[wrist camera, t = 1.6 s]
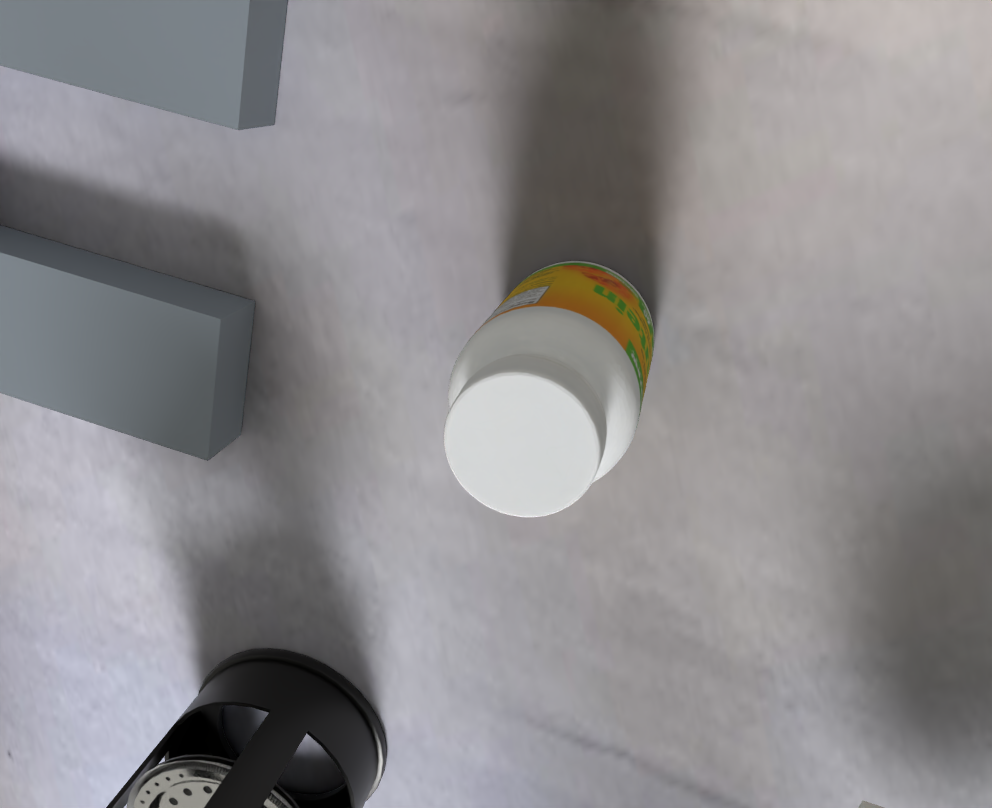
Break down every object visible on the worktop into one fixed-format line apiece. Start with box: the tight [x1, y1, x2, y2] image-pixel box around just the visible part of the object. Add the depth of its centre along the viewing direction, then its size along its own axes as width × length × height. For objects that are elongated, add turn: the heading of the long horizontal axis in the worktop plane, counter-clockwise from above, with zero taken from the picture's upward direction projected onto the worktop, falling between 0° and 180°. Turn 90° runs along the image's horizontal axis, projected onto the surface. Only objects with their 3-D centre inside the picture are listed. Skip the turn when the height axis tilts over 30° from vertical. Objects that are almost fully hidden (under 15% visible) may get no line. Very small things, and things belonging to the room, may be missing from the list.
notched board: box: [0, 0, 288, 461], centre depth 31 cm, size 16×18×2 cm
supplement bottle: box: [444, 261, 654, 517], centre depth 25 cm, size 5×5×10 cm
